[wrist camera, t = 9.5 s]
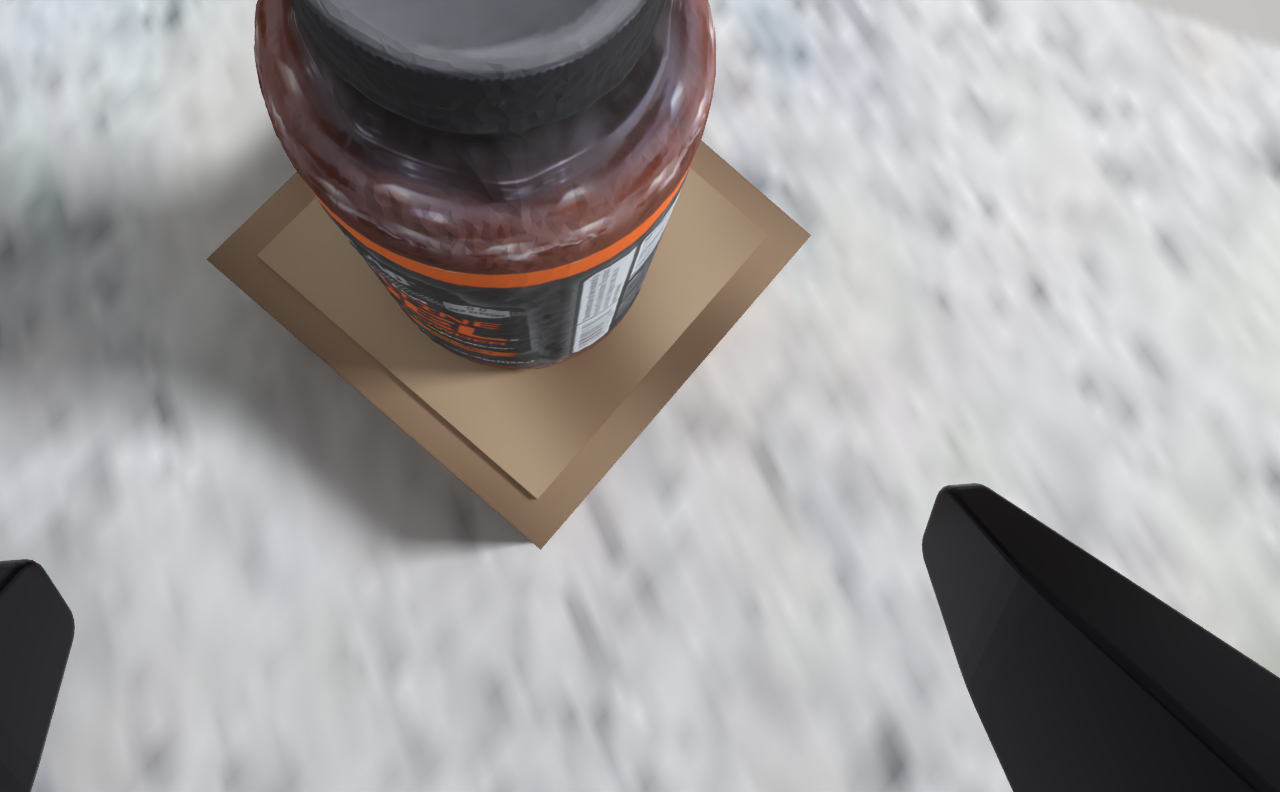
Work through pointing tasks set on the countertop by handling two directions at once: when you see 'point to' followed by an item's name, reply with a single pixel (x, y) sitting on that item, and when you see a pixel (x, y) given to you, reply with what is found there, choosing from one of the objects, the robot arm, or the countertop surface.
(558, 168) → the supplement bottle
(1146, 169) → the countertop surface
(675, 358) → the walnut plinth
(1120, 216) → the countertop surface
